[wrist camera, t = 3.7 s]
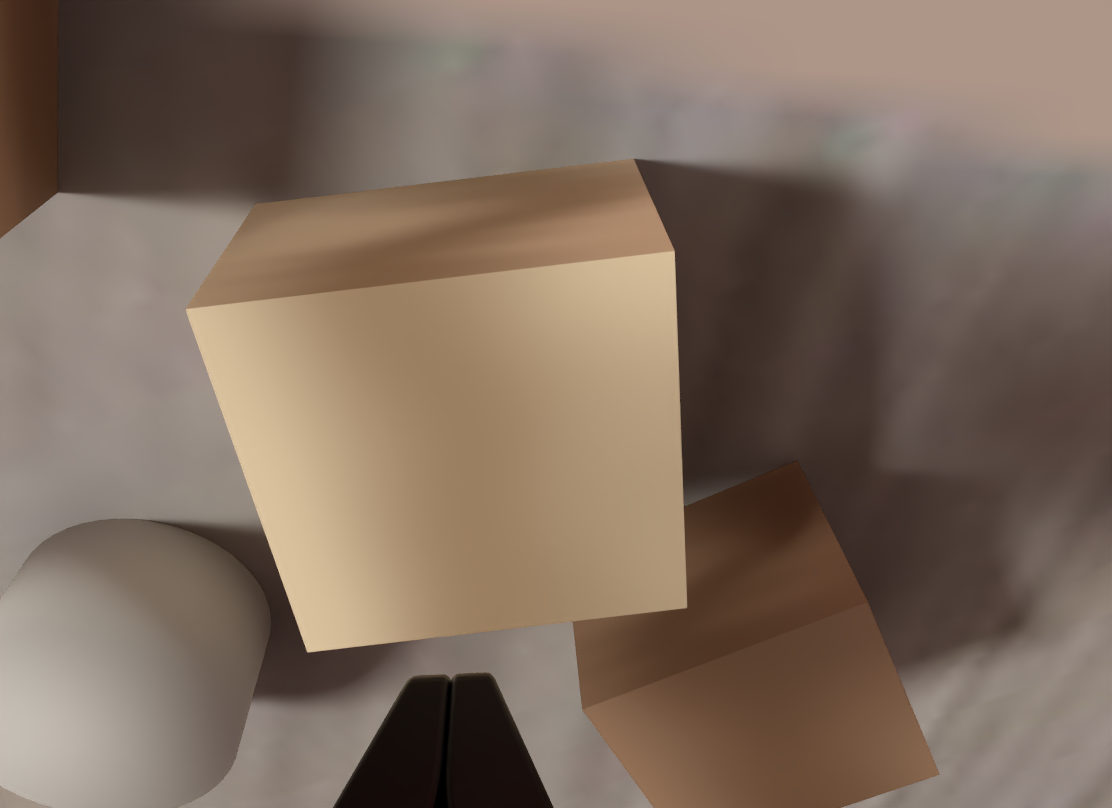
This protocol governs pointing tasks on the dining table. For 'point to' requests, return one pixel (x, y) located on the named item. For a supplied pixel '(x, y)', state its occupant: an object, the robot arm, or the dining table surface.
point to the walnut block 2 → (755, 668)
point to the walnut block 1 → (27, 108)
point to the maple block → (457, 402)
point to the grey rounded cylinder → (126, 666)
